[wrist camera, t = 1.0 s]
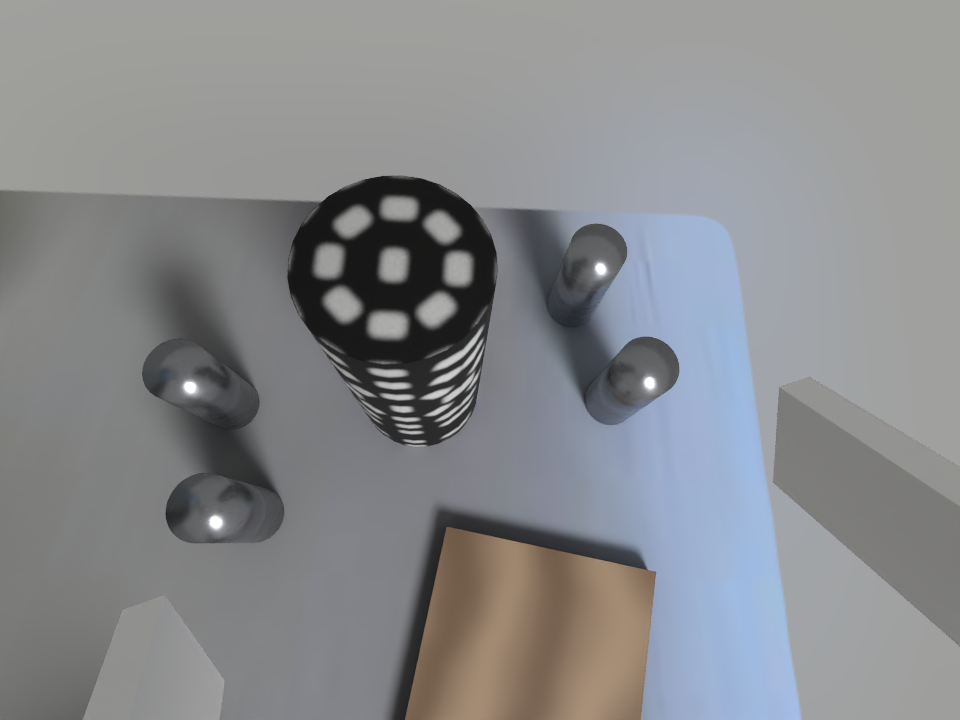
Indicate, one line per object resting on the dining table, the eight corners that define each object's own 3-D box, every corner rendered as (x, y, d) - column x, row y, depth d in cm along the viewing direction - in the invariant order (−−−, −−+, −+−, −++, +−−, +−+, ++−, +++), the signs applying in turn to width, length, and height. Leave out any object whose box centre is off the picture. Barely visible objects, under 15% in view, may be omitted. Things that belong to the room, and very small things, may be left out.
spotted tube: (369, 333, 43) (302, 169, 24) (479, 339, 43) (500, 181, 24) (357, 443, 40) (272, 358, 21) (474, 449, 41) (494, 370, 22)
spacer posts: (164, 523, 38) (80, 518, 30) (273, 222, 45) (232, 148, 37) (605, 620, 38) (650, 643, 29) (646, 299, 45) (692, 242, 36)
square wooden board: (396, 761, 35) (393, 771, 33) (446, 527, 39) (446, 526, 38) (622, 812, 34) (629, 824, 33) (648, 570, 39) (655, 571, 37)
